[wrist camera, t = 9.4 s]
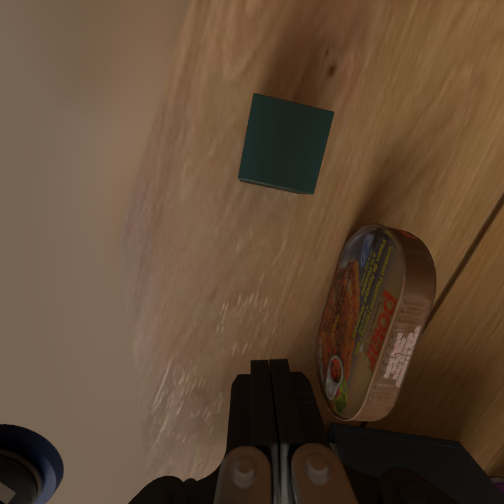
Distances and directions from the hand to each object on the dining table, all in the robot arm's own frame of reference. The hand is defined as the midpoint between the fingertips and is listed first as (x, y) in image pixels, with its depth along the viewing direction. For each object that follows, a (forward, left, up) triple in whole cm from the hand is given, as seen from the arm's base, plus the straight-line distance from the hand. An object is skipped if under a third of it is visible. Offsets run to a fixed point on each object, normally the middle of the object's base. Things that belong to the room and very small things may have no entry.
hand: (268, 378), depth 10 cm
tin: (+8, -1, -13) cm, 16 cm away
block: (-1, +10, -13) cm, 17 cm away
